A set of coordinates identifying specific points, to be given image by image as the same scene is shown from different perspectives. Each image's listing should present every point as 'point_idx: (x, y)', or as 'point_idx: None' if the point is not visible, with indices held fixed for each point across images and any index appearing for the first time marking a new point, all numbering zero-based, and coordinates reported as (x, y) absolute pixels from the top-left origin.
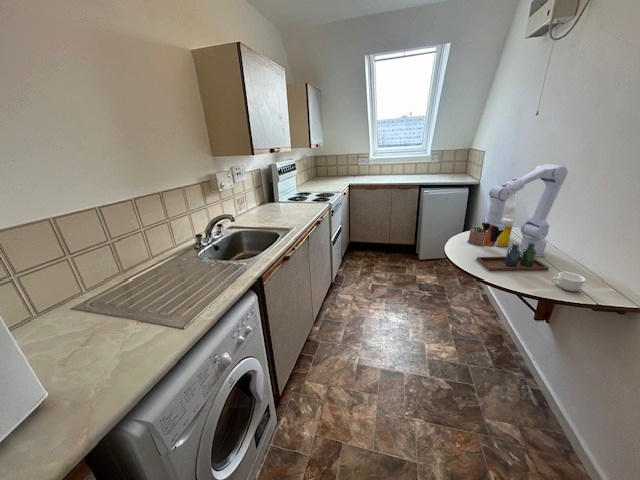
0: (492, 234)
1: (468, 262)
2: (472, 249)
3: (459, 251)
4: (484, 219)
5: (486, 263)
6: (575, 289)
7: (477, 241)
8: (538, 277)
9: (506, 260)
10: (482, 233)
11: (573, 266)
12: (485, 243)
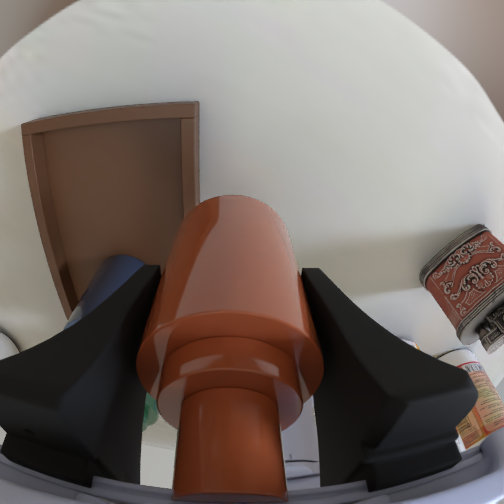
0: (70, 327)
1: (176, 36)
2: (395, 187)
3: (382, 72)
4: (498, 459)
5: (133, 150)
6: None
7: (452, 266)
8: (42, 319)
9: (106, 273)
10: (469, 320)
11: (165, 439)
12: (203, 212)
